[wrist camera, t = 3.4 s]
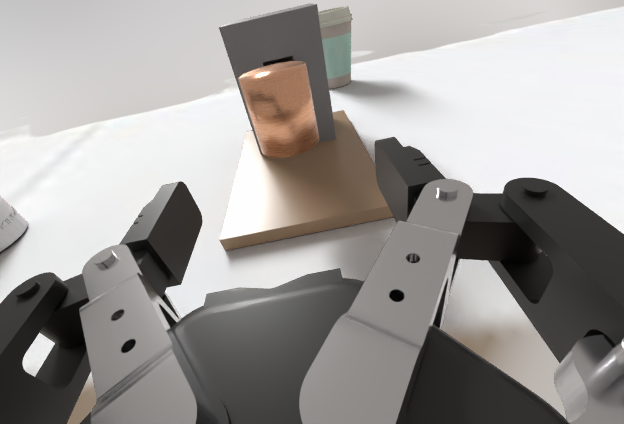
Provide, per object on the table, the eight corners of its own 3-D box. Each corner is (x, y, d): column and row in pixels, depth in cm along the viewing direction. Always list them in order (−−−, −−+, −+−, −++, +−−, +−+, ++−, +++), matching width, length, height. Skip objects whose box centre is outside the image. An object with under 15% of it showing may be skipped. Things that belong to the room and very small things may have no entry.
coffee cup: (366, 78, 55) (361, 3, 48) (337, 92, 51) (327, 13, 44) (335, 76, 61) (326, 9, 53) (306, 89, 57) (292, 18, 49)
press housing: (396, 216, 22) (396, -5, 14) (225, 250, 23) (123, 59, 14) (344, 118, 40) (330, -2, 32) (250, 139, 41) (211, 26, 33)
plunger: (322, 149, 19) (308, 69, 16) (259, 162, 19) (233, 86, 16) (307, 94, 30) (297, 41, 27) (267, 103, 30) (252, 51, 27)
